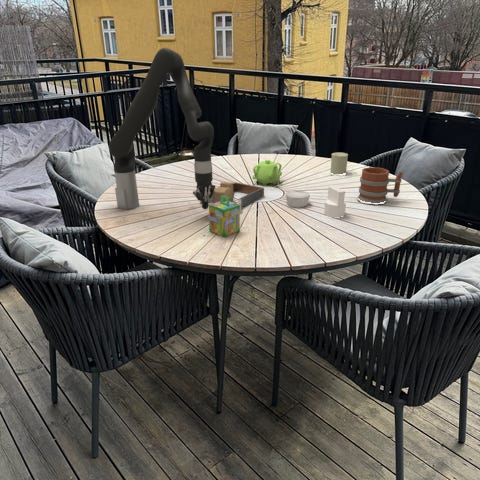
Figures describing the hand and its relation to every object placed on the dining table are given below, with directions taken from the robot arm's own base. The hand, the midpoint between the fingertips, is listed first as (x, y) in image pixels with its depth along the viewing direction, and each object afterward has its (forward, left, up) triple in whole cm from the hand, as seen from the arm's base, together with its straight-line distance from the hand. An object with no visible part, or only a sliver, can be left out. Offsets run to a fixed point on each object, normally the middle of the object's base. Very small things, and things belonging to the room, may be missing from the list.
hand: (205, 208), depth 186 cm
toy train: (+14, 0, -3) cm, 14 cm away
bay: (+23, 0, -3) cm, 23 cm away
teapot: (+56, +1, -3) cm, 56 cm away
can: (+93, -24, -3) cm, 96 cm away
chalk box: (-9, -18, -4) cm, 20 cm away
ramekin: (+35, -28, -4) cm, 44 cm away
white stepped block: (+32, -48, -3) cm, 57 cm away
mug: (+60, -58, -3) cm, 83 cm away
